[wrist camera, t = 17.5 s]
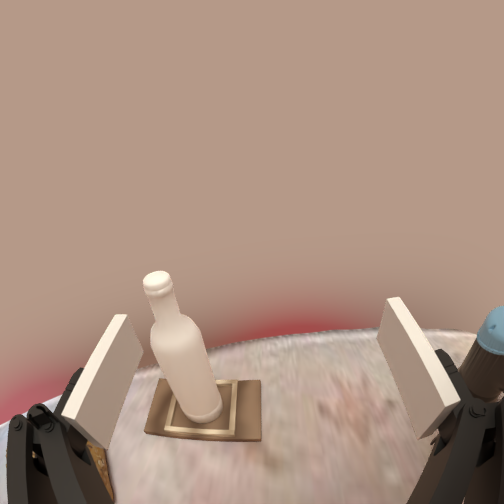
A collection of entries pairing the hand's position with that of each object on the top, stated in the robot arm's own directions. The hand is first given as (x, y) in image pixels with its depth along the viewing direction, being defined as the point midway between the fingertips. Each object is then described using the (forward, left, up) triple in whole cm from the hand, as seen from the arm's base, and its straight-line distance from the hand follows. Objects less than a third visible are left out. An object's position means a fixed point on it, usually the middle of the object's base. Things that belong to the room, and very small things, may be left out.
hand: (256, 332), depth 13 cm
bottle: (+13, -18, -37) cm, 43 cm away
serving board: (+13, -18, -38) cm, 44 cm away
